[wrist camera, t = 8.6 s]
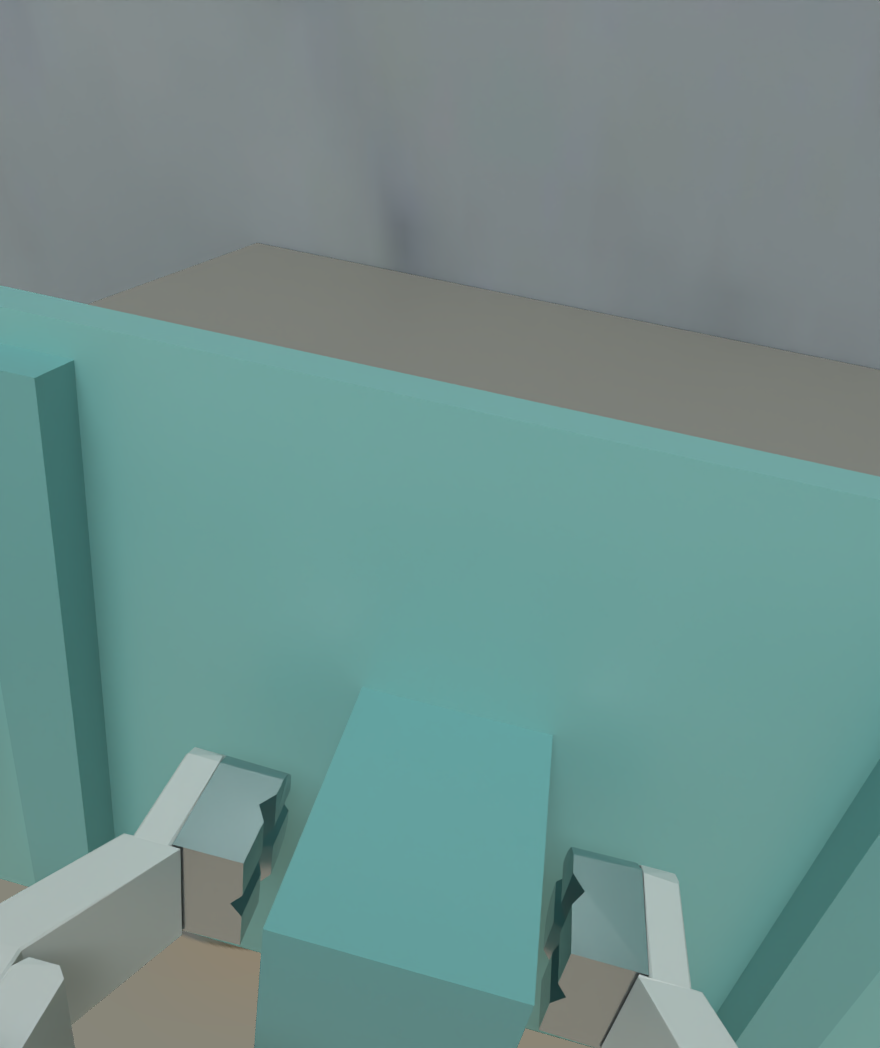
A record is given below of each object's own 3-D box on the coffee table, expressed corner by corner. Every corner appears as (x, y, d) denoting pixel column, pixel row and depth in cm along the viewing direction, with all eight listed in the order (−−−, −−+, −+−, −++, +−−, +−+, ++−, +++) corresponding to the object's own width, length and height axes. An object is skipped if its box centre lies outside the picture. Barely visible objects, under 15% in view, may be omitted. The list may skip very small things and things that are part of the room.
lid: (1282, 563, 9) (1867, 941, 5) (841, 1076, 15) (933, 1433, 11) (-404, 198, 11) (-1021, 245, 7) (-185, 788, 17) (-435, 1003, 13)
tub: (1110, 416, 15) (1457, 616, 9) (853, 813, 21) (958, 1095, 15) (257, 243, 16) (60, 314, 10) (242, 660, 22) (111, 861, 16)
